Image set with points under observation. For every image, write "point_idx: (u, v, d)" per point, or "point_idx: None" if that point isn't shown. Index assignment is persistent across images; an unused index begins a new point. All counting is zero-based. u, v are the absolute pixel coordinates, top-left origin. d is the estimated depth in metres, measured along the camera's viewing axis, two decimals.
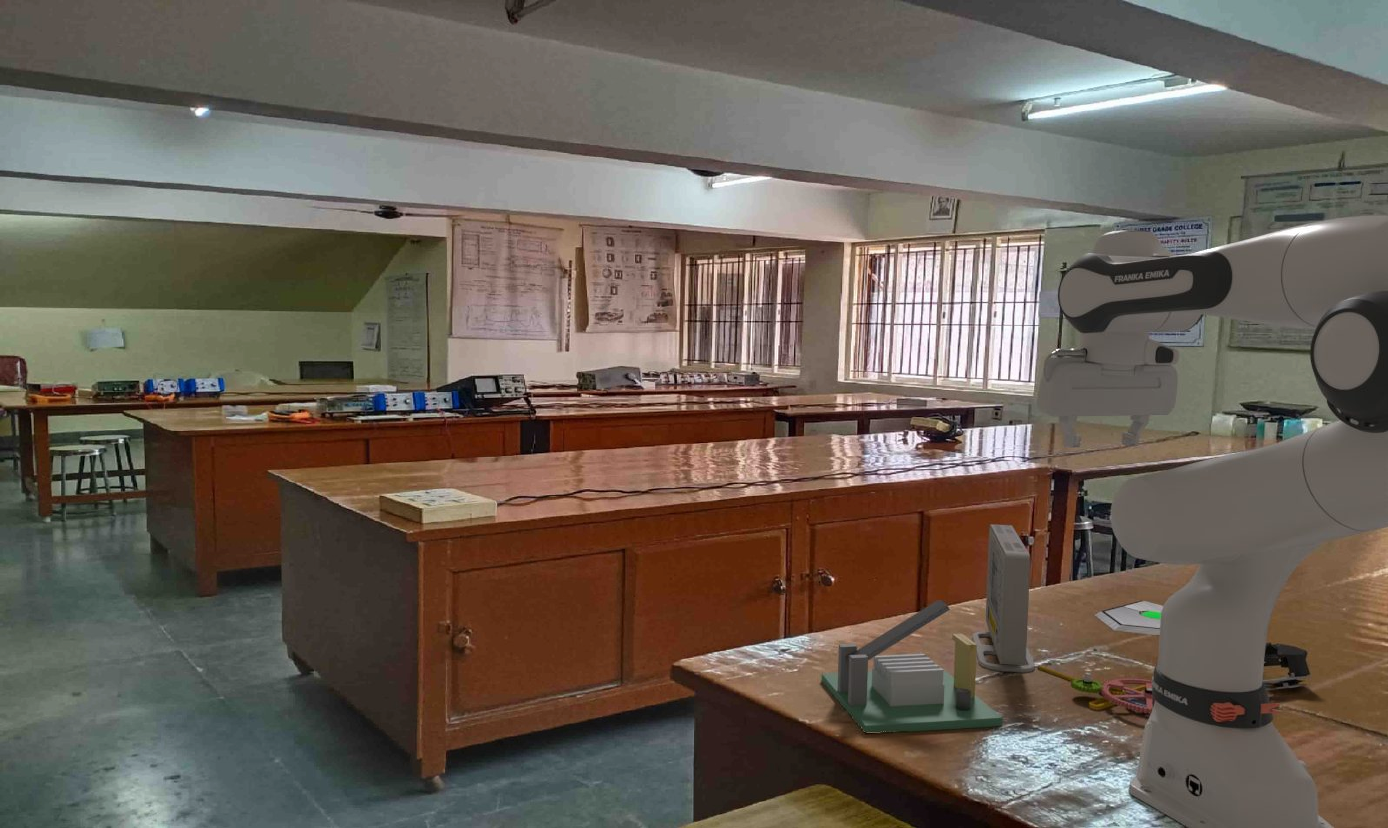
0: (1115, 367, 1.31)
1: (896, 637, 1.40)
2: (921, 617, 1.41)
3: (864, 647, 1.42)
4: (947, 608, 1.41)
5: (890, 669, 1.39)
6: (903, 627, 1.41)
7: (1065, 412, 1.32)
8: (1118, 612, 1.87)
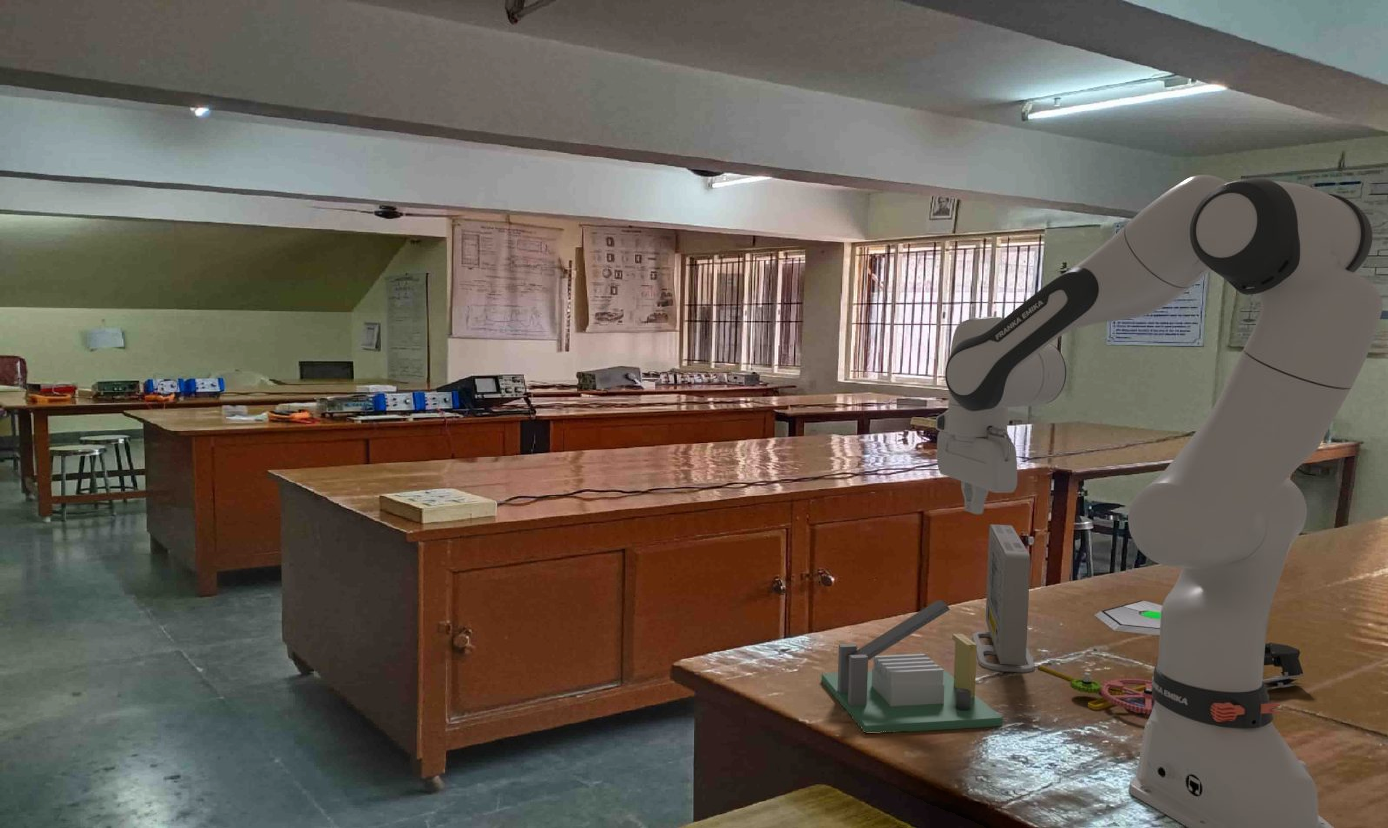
0: None
1: (896, 637, 1.40)
2: (921, 617, 1.41)
3: (864, 647, 1.42)
4: (947, 608, 1.41)
5: (890, 669, 1.39)
6: (903, 627, 1.41)
7: None
8: (1118, 612, 1.87)
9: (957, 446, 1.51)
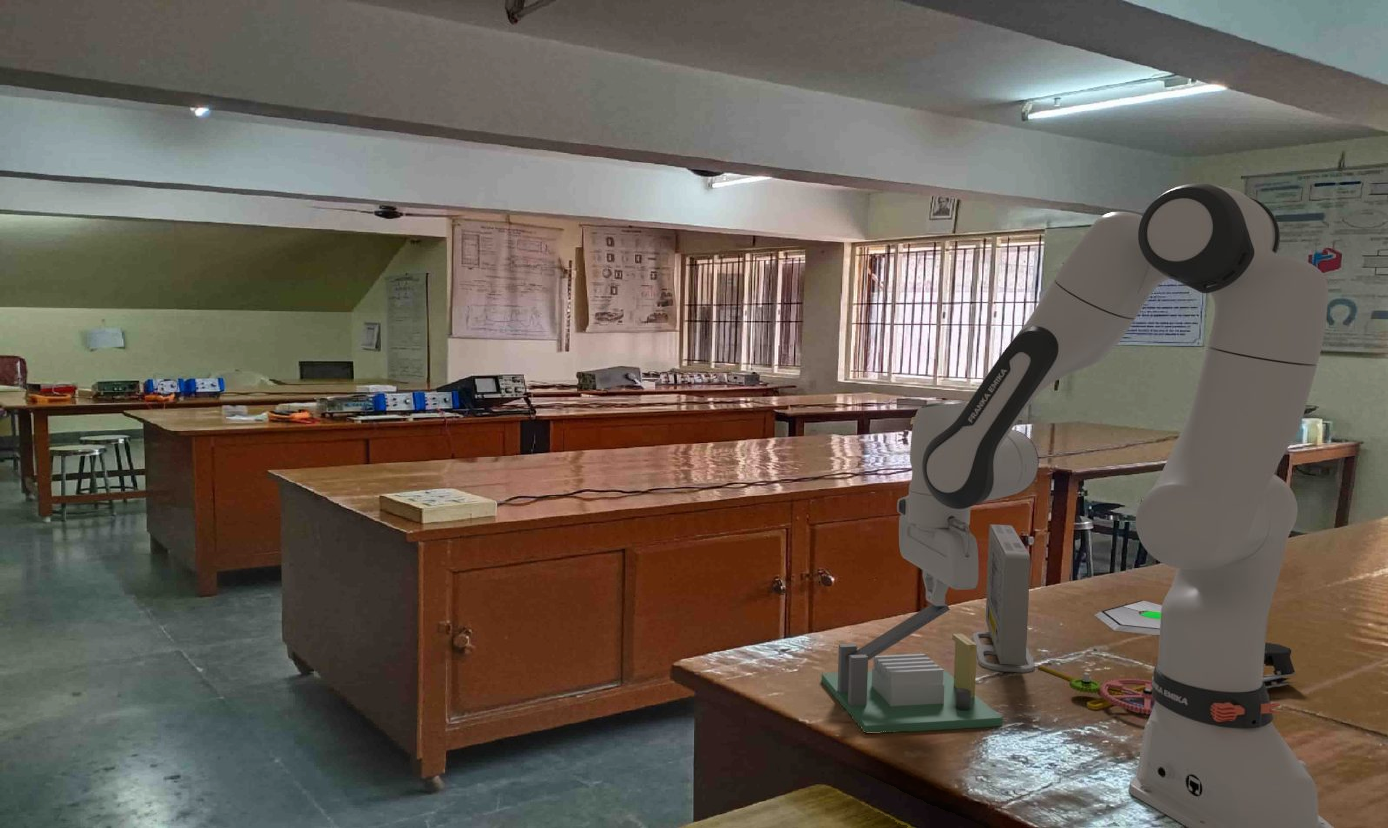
0: None
1: (896, 637, 1.40)
2: (921, 617, 1.41)
3: (864, 647, 1.42)
4: (947, 608, 1.41)
5: (890, 669, 1.39)
6: (903, 627, 1.41)
7: None
8: (1118, 612, 1.87)
9: None
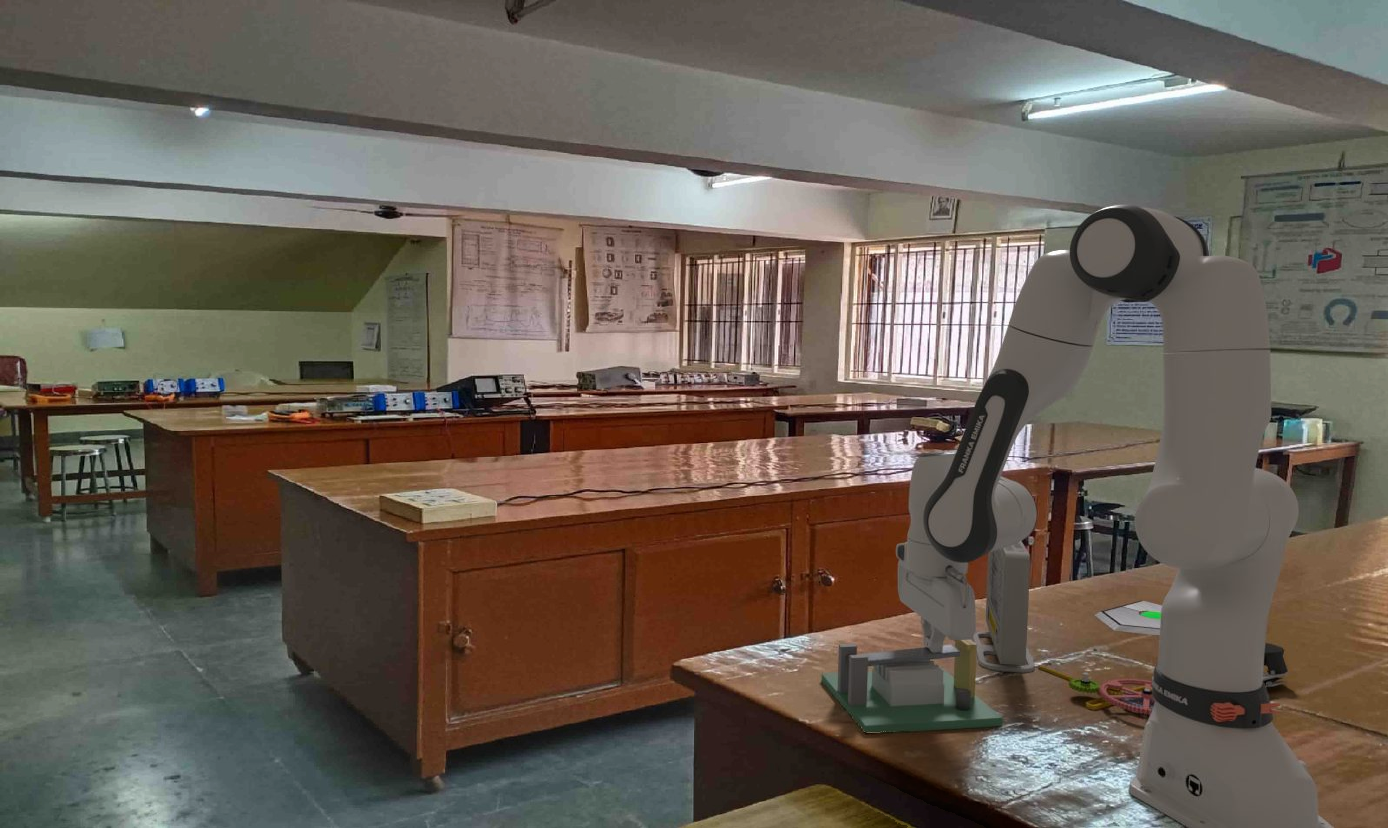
0: None
1: (902, 657, 1.40)
2: None
3: (867, 654, 1.42)
4: (958, 654, 1.42)
5: (890, 669, 1.39)
6: (911, 652, 1.42)
7: None
8: (1118, 612, 1.87)
9: None
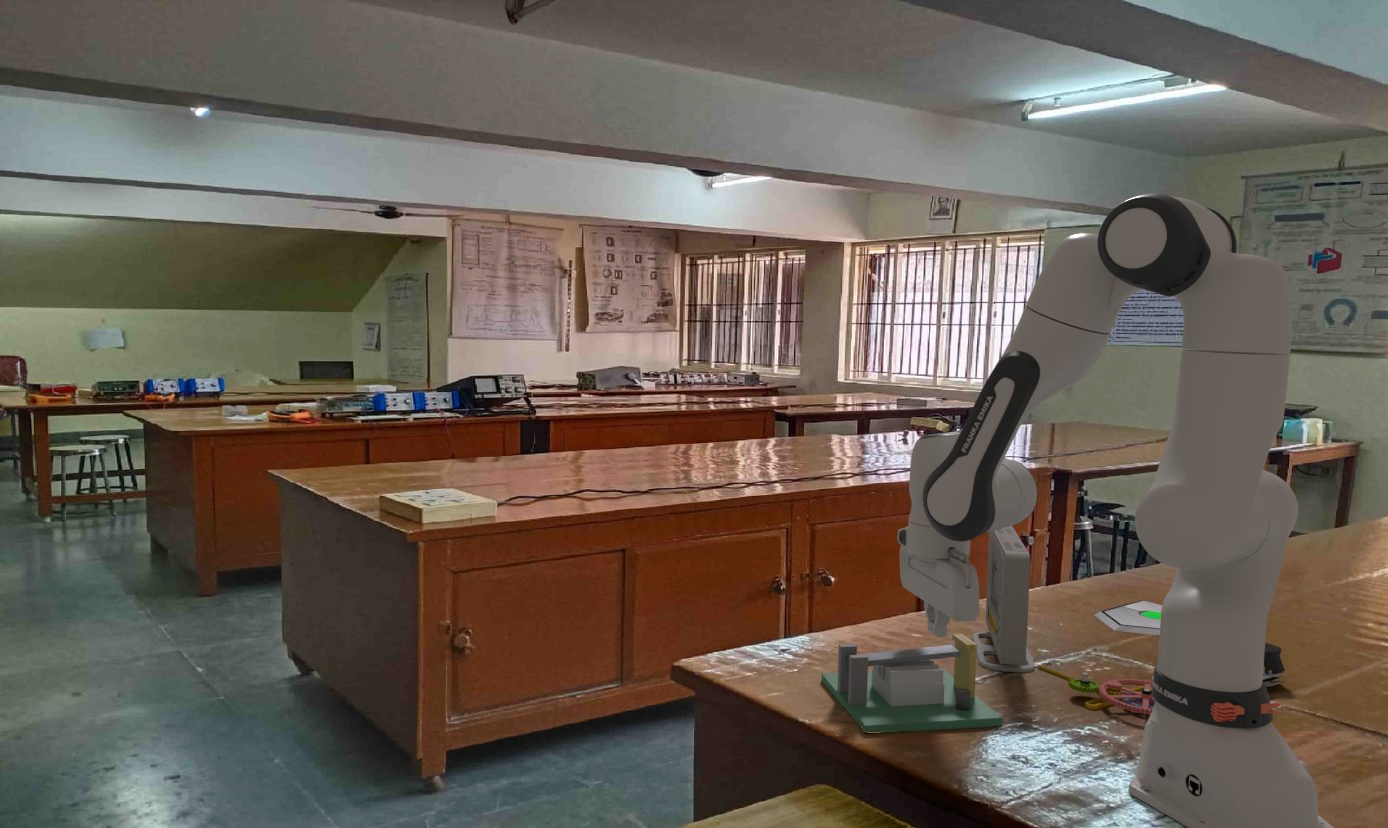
0: None
1: (902, 657, 1.40)
2: (931, 651, 1.42)
3: (867, 654, 1.42)
4: (958, 654, 1.42)
5: (890, 669, 1.39)
6: (911, 652, 1.42)
7: None
8: (1118, 612, 1.87)
9: None
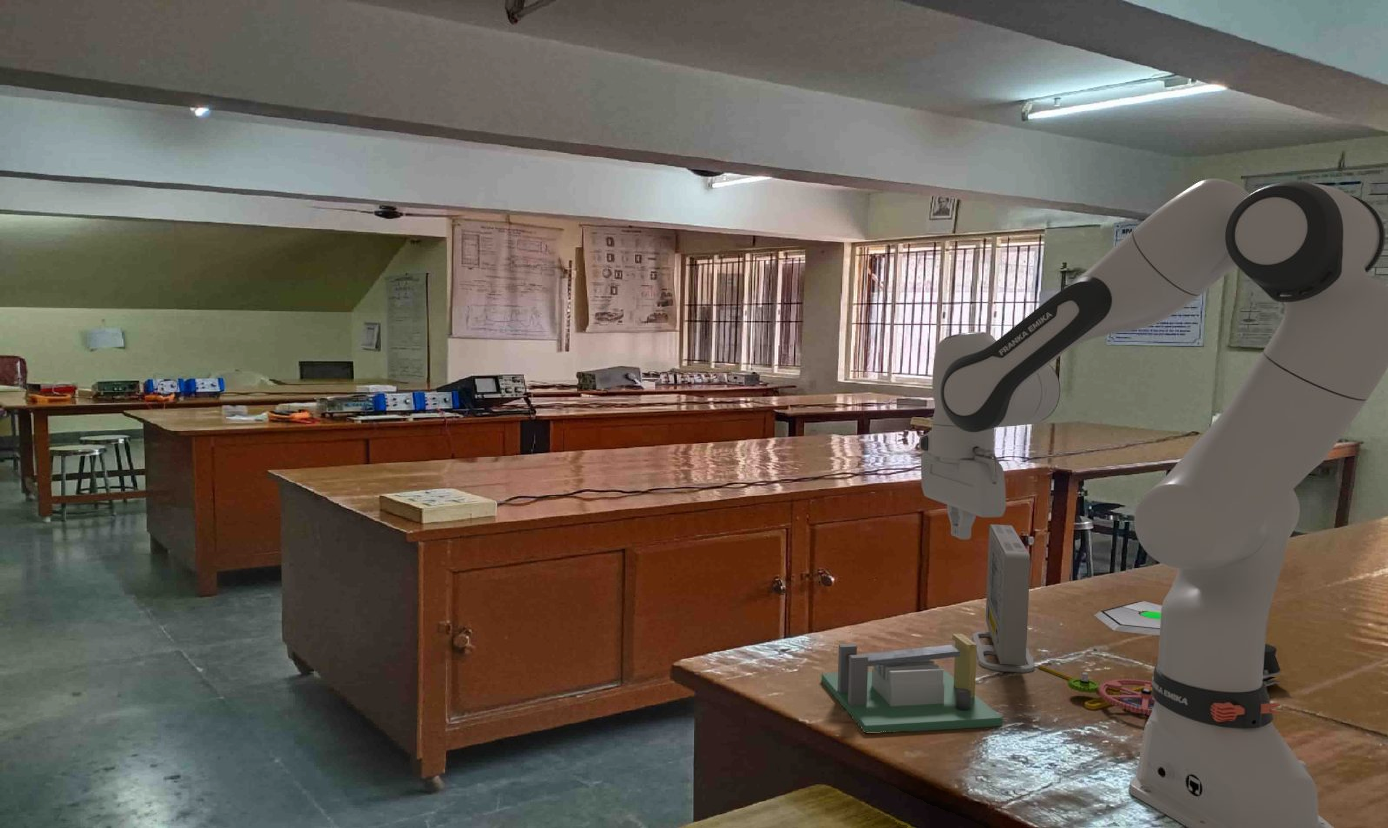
0: None
1: (902, 657, 1.40)
2: (931, 651, 1.42)
3: (867, 654, 1.42)
4: (958, 654, 1.42)
5: (890, 669, 1.39)
6: (911, 652, 1.42)
7: None
8: (1118, 612, 1.87)
9: (942, 468, 1.44)
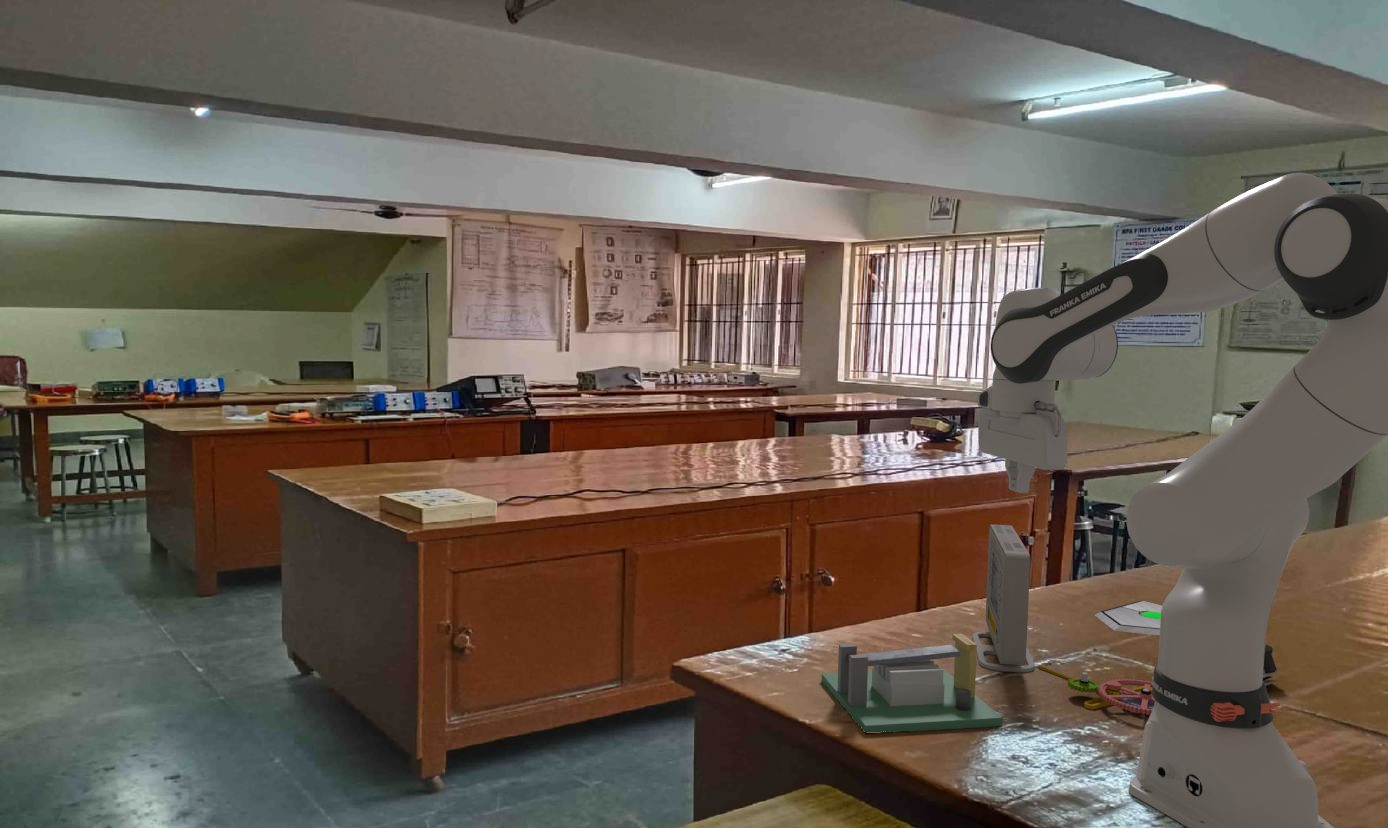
0: None
1: (902, 657, 1.40)
2: (931, 651, 1.42)
3: (867, 654, 1.42)
4: (958, 654, 1.42)
5: (890, 669, 1.39)
6: (911, 652, 1.42)
7: None
8: (1117, 612, 1.87)
9: (1001, 423, 1.46)
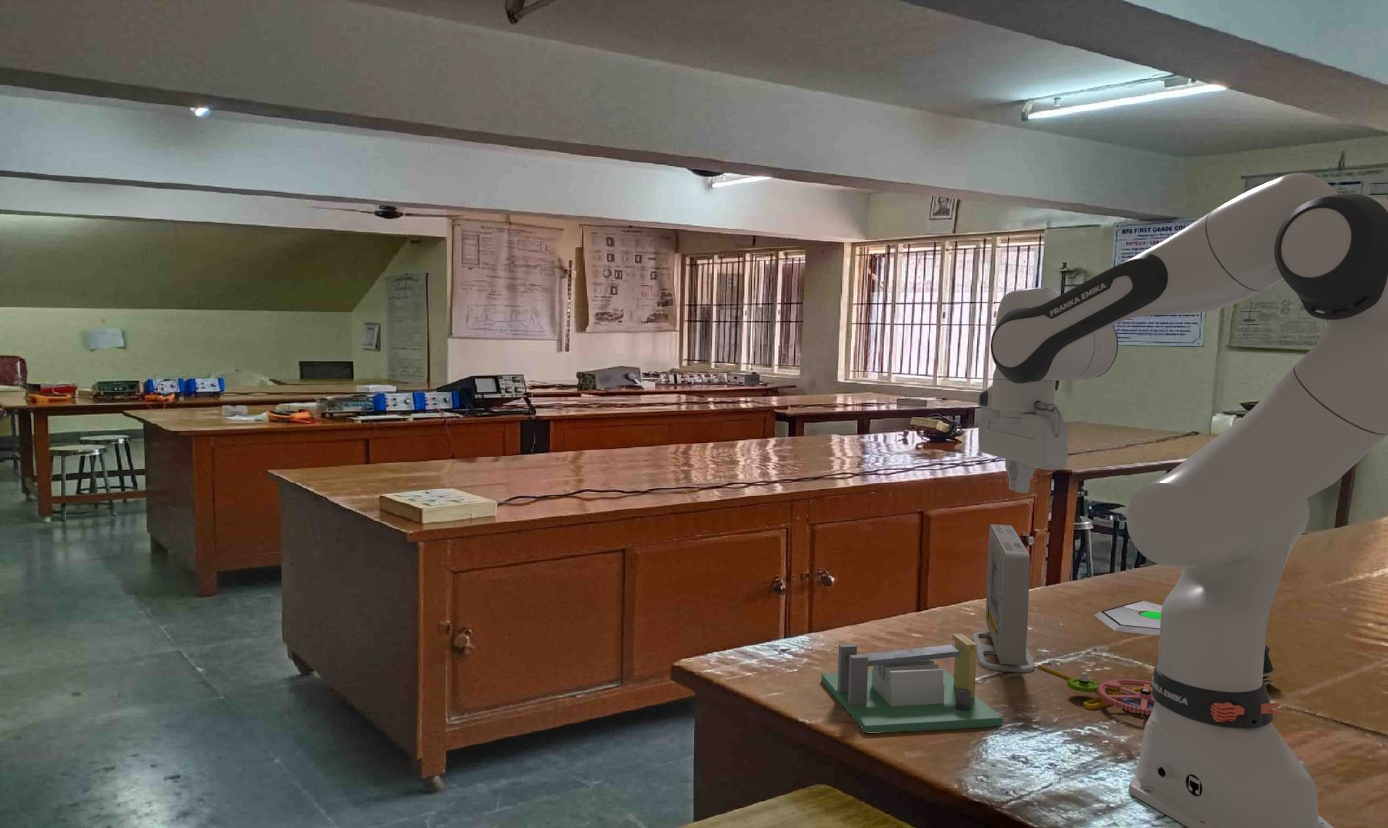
0: None
1: (902, 657, 1.40)
2: (931, 651, 1.42)
3: (867, 654, 1.42)
4: (958, 654, 1.42)
5: (890, 669, 1.39)
6: (911, 652, 1.42)
7: None
8: (1117, 612, 1.87)
9: (1001, 423, 1.46)
